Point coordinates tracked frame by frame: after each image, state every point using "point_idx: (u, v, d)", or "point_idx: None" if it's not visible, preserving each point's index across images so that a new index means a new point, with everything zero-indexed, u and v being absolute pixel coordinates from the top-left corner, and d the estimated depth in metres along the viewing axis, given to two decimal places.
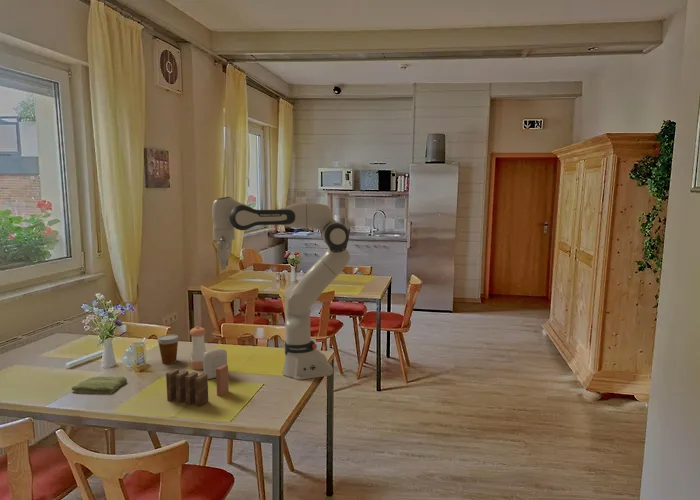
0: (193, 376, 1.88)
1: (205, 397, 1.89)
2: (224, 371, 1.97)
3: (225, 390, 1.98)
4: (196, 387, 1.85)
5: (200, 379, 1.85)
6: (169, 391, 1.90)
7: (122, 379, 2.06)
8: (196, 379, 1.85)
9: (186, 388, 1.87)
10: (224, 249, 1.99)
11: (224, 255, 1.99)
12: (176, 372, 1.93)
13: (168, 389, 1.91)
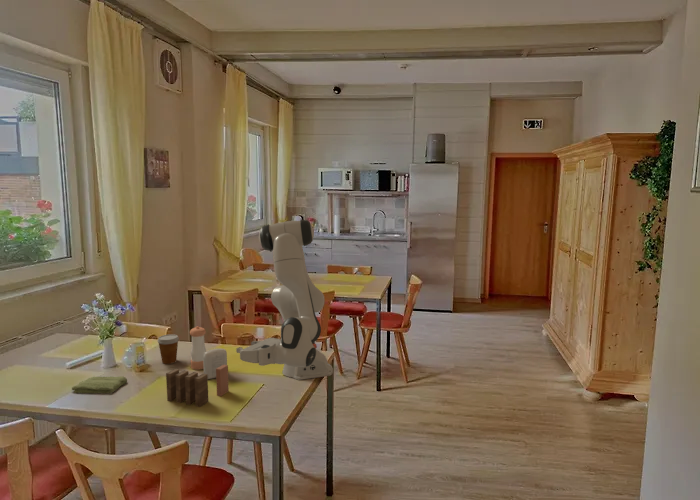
0: (193, 376, 1.88)
1: (205, 397, 1.89)
2: (225, 371, 1.97)
3: (225, 390, 1.98)
4: (196, 387, 1.85)
5: (200, 379, 1.85)
6: (169, 391, 1.90)
7: (122, 379, 2.06)
8: (196, 379, 1.85)
9: (186, 388, 1.87)
10: None
11: None
12: (176, 372, 1.93)
13: (168, 389, 1.91)
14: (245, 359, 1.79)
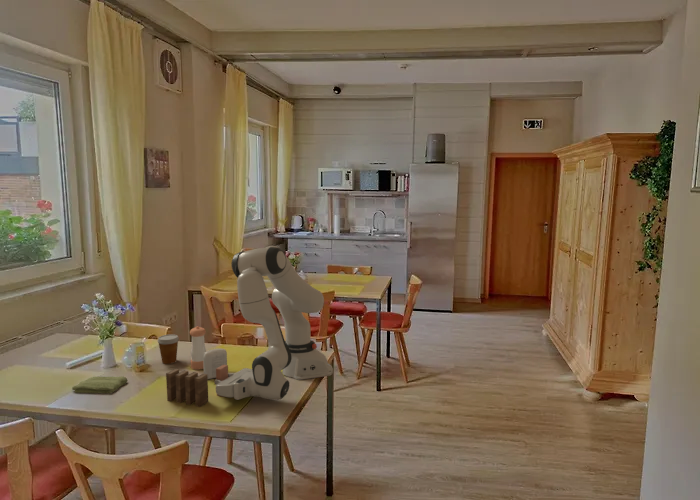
0: (193, 376, 1.88)
1: (205, 397, 1.89)
2: (225, 371, 1.97)
3: None
4: (196, 387, 1.85)
5: (200, 379, 1.85)
6: (169, 391, 1.90)
7: (122, 379, 2.06)
8: (196, 379, 1.85)
9: (186, 388, 1.87)
10: None
11: None
12: (176, 372, 1.93)
13: (168, 389, 1.91)
14: (221, 393, 1.86)
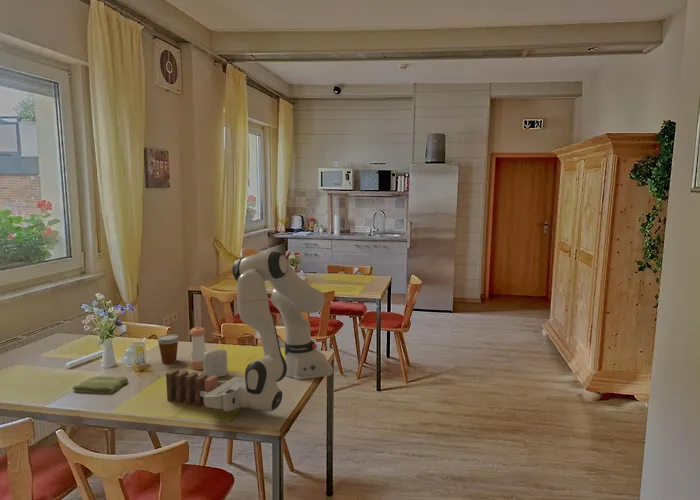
0: (193, 376, 1.88)
1: None
2: (214, 382, 1.86)
3: None
4: (196, 387, 1.85)
5: (200, 379, 1.85)
6: (169, 391, 1.90)
7: (123, 379, 2.06)
8: (196, 379, 1.85)
9: (186, 388, 1.87)
10: None
11: None
12: (176, 372, 1.93)
13: (168, 389, 1.91)
14: (209, 404, 1.74)
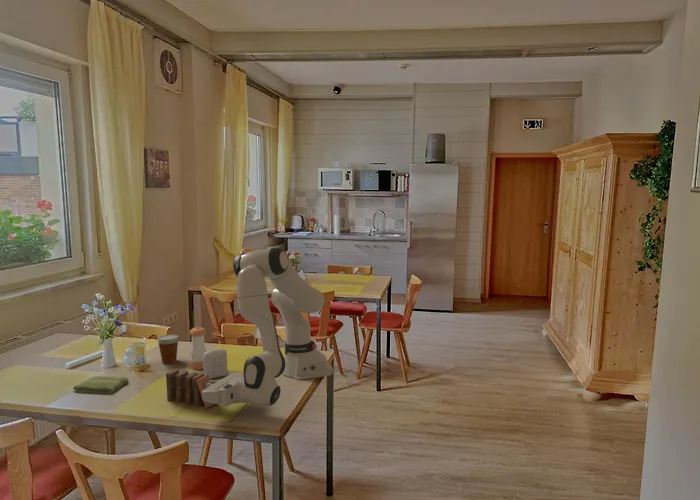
0: (193, 376, 1.88)
1: None
2: (206, 381, 1.87)
3: None
4: (193, 387, 1.86)
5: (197, 378, 1.86)
6: (169, 391, 1.90)
7: (123, 379, 2.06)
8: (193, 378, 1.85)
9: (186, 388, 1.87)
10: None
11: None
12: (176, 372, 1.93)
13: (168, 389, 1.91)
14: (207, 400, 1.75)
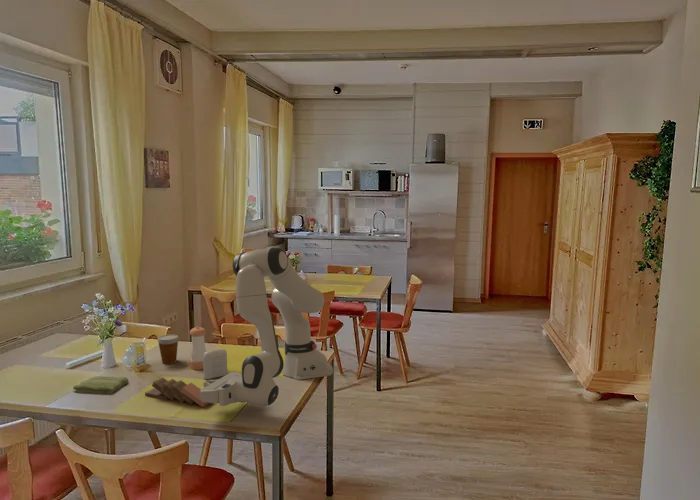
0: (169, 382, 1.94)
1: None
2: (191, 387, 1.90)
3: None
4: (177, 392, 1.89)
5: (174, 384, 1.90)
6: (159, 397, 1.93)
7: (123, 379, 2.06)
8: (171, 387, 1.90)
9: (171, 393, 1.91)
10: None
11: None
12: (152, 389, 1.99)
13: None
14: (205, 399, 1.75)
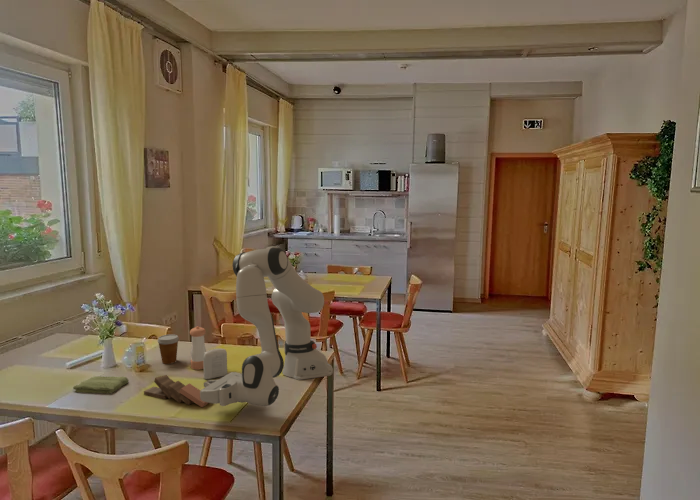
0: (166, 382, 1.94)
1: None
2: (190, 387, 1.90)
3: None
4: (174, 393, 1.89)
5: (171, 385, 1.90)
6: (157, 396, 1.94)
7: (123, 379, 2.06)
8: (168, 388, 1.90)
9: (168, 393, 1.91)
10: None
11: None
12: (151, 388, 2.00)
13: (156, 396, 1.94)
14: (205, 399, 1.75)
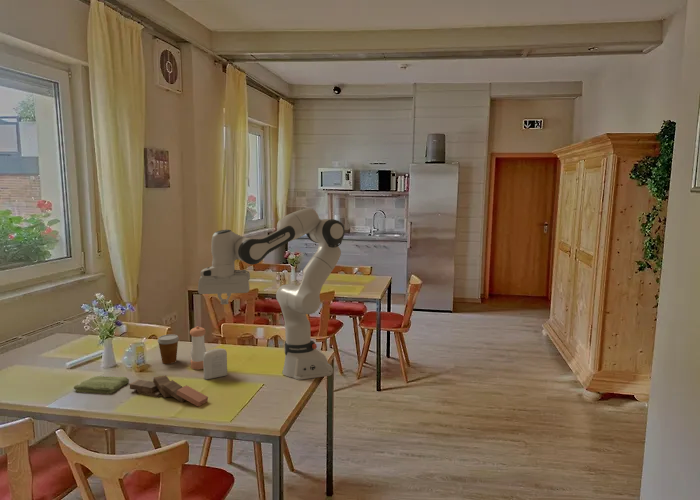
0: (160, 377, 2.00)
1: None
2: (186, 389, 1.91)
3: (202, 397, 1.89)
4: (168, 391, 1.92)
5: (165, 384, 1.94)
6: (150, 394, 1.96)
7: (124, 379, 2.06)
8: (162, 387, 1.94)
9: (158, 387, 1.96)
10: (248, 280, 2.01)
11: None
12: None
13: None
14: (198, 286, 1.97)
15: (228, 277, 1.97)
